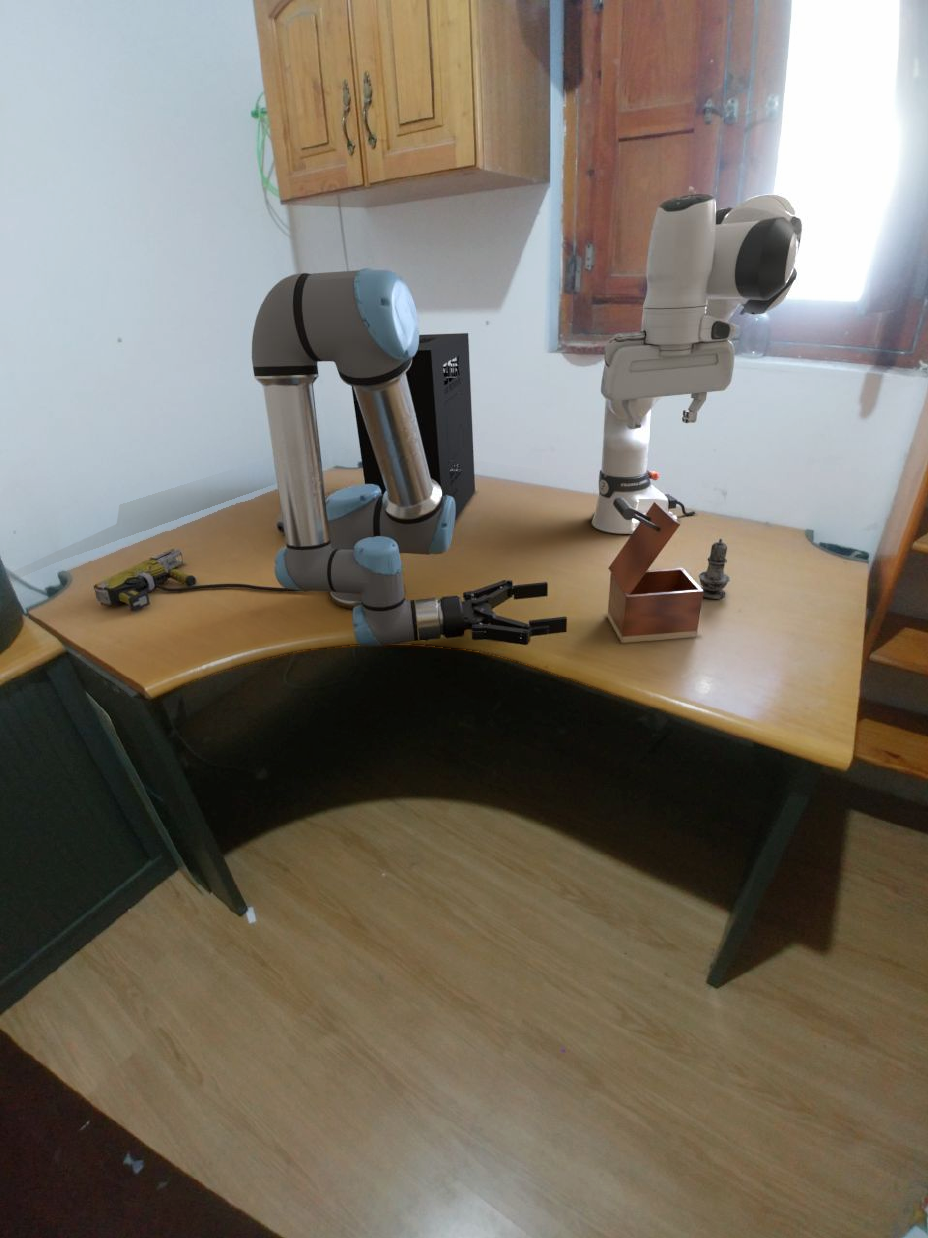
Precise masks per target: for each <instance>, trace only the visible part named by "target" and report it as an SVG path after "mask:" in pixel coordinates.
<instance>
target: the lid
mask: <svg viewBox="0 0 928 1238" xmlns="http://www.w3.org/2000/svg"><path fill="white" fill-rule="evenodd" d="M613 505H614V507H615V508H616V509H617V511H618V512H619V513H620V514H621V515H622V517H623V518H624V519H625V520H631V519H635V520H637V521H639V522H640V523H639V525H638V526H637V528H636V529H635V531H634V532H633V533H632V534H630V535H629V538H628V539H627V541H626V542H625V543H624V545H623V546H622V548H621V549H620V551H619V552H618V553H617V555H616V557H615V558H614V559H613V561H612V563H610V565H609V566H608V570H609V572H610V574H611V573H612V575H613V576H614V578H615V579H616V581H617V582H618V584H619V586H620V587H621V589H622V590H623V592H625V593H627V594H629V595H630V593H631V592H632V591H633V589H634V588H635V587H636V585H637V584H638V582H639V581H640V580H641V578H642V577H643V576H644V574H645V573H646V571H647V570H650V567H651V566H652V565H653V563H654V562H655V561H656V559H657V558H658V556H659V555H660V554H661V553H662V551H663V549H664V548H665V547H666V545H667V544H668V543H669V541H670V540H671V539H672V537H673V536H674V534H675V533H676V532H677V530H678V529H679V527H680V526H681V523H680V522H679V521H678V519H677V520H675V519H674V518H673V517H672V516H671V515H670V514H669V513H668V512H667V511H666V510H665V509H664V508H663V507H662V506H661V505H660V504H658V503H656V502H654V503H653V504H652V506H651V507H650V509H649V510H648V512H647V513H646V515H645V514H643V513H641V512H640V511H638V510H636V509H634V508H632V507H631V506H630V505H629V504H628V503H627V502H626V500H625V499H624V498H622V497H618V498H616V499H615V500H614V502H613Z"/></svg>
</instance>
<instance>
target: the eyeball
mask: <svg viewBox="0 0 928 1238" xmlns="http://www.w3.org/2000/svg"><path fill="white" fill-rule="evenodd" d="M275 527H276V529H277V530H278V531H279V532H280V533H281V534H282V535H285V532H284V525H283V518H282V513H280V514H279V515H278V516H277V517H276V520H275Z"/></svg>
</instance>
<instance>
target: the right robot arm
mask: <svg viewBox="0 0 928 1238" xmlns="http://www.w3.org/2000/svg"><path fill="white" fill-rule="evenodd" d="M716 204H717V203H716V198H715V197H714V196H713V195H710V194H706V193H705V194H703V193H699V194H698V193H697V194H688V195H683V196H680V197H673V198H670V199H667V200H666V201H664V202H662V203H661V204H660V205H658V207H657V209H656V211H655V215H654V217H653V218H654V219H653V223H652V227H651V232H650V237H649V244H648V251H647V259H646V269H645V277H646V283H647V288H646V289H647V290H646V295H645V299H644V301H643V305H642V314H641V315H642V316H641V326H640V327H641V328H640V331H631V332H627V333H625V332H618V333H616V334H614V336H612V337H611V338H609V339H608V341H607V342H606V343H605V345H604V353H603V355H604V356H603V358H604V366H603V371H602V376H601V385H600V393H601V395H602V397H603V398H604V399H605V401H604V403H605V404H604V418H603V419H604V421H603V435H602V436H603V438H602V439H603V440H602V453H601V468H600V470H599V474H598V492H599V493H598V498H597V502H596V507H595V511H594V514H593V517H592V520H591V525H592V526H593V527H594V528H595V529H597V530H599V531H601V532H605V533H611V534H623V535H625V534H626V535H632V533H633V532H634V531H635V529H636V528H637V526H638V525H639V523H640V522H639V521H637V520H635V519H631V520H625V519H624V518H623V517H622V515H621V514H620V513H619V512H618V511H617V509H616V508H615V507H614V505H613V502H614V500H615V499H616V498H618V497H622V498H624V499H625V500H626V502H627V503H628V504H629V505H630V506H631V507H632V508H634V509H636V510H638V511H640V512H641V513H643V514H645V515H646V513H647V512H648V510H649V509H650V507H651V506H652V504H653V503H654V502H656V503H658V504H660V505H661V506H662V507H663V508H664V509H665V510H666V511H667V512H668V513H669V514H670V515H671V516H672V517H673V518H674V519H675V520H677V521H678V516H677V515H676V514H675V513H674V512H672V511H670V510H673V509H677V505H679V506H680V508H681V512H682V514H683V516H686V517H687V516H688V517H690V516H692V515H695V514H696V511H695V510H692V511H689V512H686V507H685V504H683V503H682V502H681V501H679V500H678V499H676V498H675V497H674V496H672V495H670V494H669V493H666V494H665V493H663V492H661V491H660V490H659V489H658V488H656V487H655V486H654V485H652V483H651V480H653V481H658V479H659V478H660V473H659V472H657V471H654V470H651V471H649V470H648V469H647V466H648V458H649V457H648V456H649V447H650V435H651V433H650V432H651V431H650V430H651V414H652V412H651V411H652V408H654V406H655V405H656V404H657V403H658V402H659V400H660V399H661V398H663V397H673V396H682V395H683V396H684V395H690V398H691V399H692V401H691V403H690V404H689V406H688V408H687V409H683V410H682V418H681V420H682V423H684V424H693V423H696V422H697V418H698V412H699V411H700V409H702V406H703V405H704V403H705V402H706V400H707V395H708V393H713V392H722V391H725V390H726V389H728V387H729V386H730V384H731V382H732V379H733V373H734V364H735V346H734V344H733V342H731V340H732V339H734V337H735V336H736V332H737V326H736V324H735V323H733V322H730V321H729V320H730V319H731V318H732V316H733V315H734V313H736V311H737V309H738V308H739V306H740V305H741V306H742V307H743V308H742V309H741V311H740V312H739V315H742V316H743V315H745V314H746V313H747V314H750V315H752V316H755V315H764V314H766V312H769V311H771V310H772V309H774V308H776V307H777V306H779V305H780V304H781V303H782V302H783V301H784V300H785V299H786V298H787V297H788V296H789V294H790V293H791V291H792V289H793V288H794V287H793V286H794V284H795V283H796V281H797V278H798V269H797V268H796V266H795V265H796V260H797V255H798V253H799V249H800V243H801V238H802V231H803V223H802V220H801V218H800V217H798V211H797V209H796V207H795V205H794V203H793V202H792V201H791V200H790V199H789V198H787V197H785V196H783V195H780V194H776V193H775V194H774V193H765V194H760V195H756V196H753V197H750V198H748V199H745V200H744V201H742V202H740V203H739V204H737V205H736V206H735V207H733V206H727V207H722V208H719V209H718V210H717V205H716Z"/></svg>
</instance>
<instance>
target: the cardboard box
mask: <svg viewBox="0 0 928 1238" xmlns="http://www.w3.org/2000/svg"><path fill="white" fill-rule="evenodd" d="M469 341H470V340H469V332H462V333H461V332H460V333H459V332H458V333H457V332H455V333H434V334H433V333H432V334H419V344H418V349H417V352H416V354H415V355H414V356H413V357H412V363H411V366H410V368H409V369H408V370H407V372H406V377H407V381H408V385H409V389H410V394H411V398H412V402H413V406H414V410H415V415H416V419H417V423H418V427H419V432H420V436H421V440H422V444H423V448H424V453H425V457H426V461H427V465H428V470H429V474H430V478H431V479H433V480H435V481H436V482H437V483H438V484H439V486H440V487H441V490H442V495H443V496H446V495H448V496H451V497H453V498H454V500H455V522H456V521H457V520H458V518H459V517H460V515H461V513H462V512H463V510H464V509H465V507H466V506H467V504H468V503H469V501H470V500H471V499H472V497H473V495H474V494H475V492H476V482H475V480H476V477H475V459H474V457H475V455H474V432H473V412H472V410H473V409H472V388H471V387H472V386H471V367H470V366H471V365H470V364H471V363H470V344H469V343H470V342H469ZM449 363H450V364H449ZM351 394H352V401H353V407H354V414H355V415H354V416H355V421H356V429H357V437H358V444H359V453H360V459H361V466H362V474H363V481H364V484H374V485H378V486H379V488H380V490H381V494H383V495H384V493H385V491H386V487H385V484H384V481H383V478H382V475H381V472H380V469H379V466H378V462H377V459H376V456H375V453H374V450H373V447H372V444H371V441H370V437H369V434H368V431H367V428H366V425H365V422H364V419H363V415H362V412H361V409H360V406H359V403H358V400H357V397H356V394H355V390H354V387H353V386H351Z"/></svg>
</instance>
